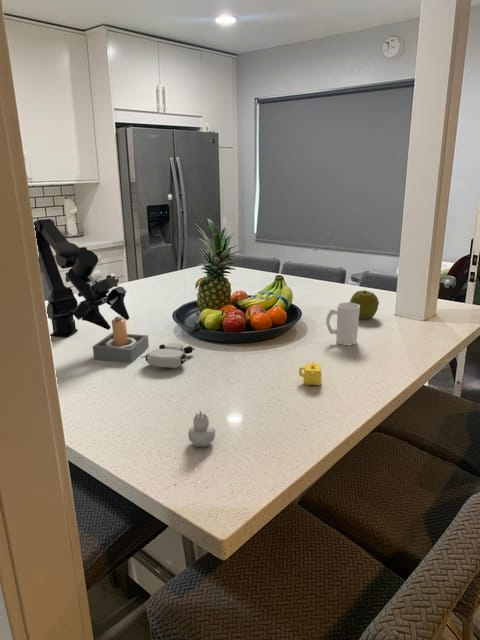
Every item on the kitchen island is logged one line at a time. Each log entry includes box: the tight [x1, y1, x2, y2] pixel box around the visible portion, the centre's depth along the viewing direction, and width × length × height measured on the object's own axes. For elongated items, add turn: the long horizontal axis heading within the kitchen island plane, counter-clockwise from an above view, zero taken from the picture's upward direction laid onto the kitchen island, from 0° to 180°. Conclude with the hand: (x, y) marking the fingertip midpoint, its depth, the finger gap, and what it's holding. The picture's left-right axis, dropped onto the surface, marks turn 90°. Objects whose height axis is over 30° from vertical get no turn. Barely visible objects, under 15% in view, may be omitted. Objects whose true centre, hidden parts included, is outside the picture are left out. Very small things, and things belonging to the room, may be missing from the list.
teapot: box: [298, 362, 322, 386], centre depth 125 cm, size 8×6×5 cm
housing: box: [92, 332, 150, 364], centre depth 145 cm, size 12×12×4 cm
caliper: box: [195, 311, 201, 324], centre depth 173 cm, size 20×1×6 cm, turn 174°
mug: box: [325, 302, 360, 346], centre depth 151 cm, size 10×7×12 cm, turn 89°
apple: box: [349, 290, 380, 320], centre depth 173 cm, size 10×10×11 cm
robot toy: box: [140, 342, 196, 369], centre depth 138 cm, size 12×4×15 cm
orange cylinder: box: [111, 316, 128, 347], centre depth 143 cm, size 4×4×10 cm
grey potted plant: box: [187, 410, 216, 448], centre depth 98 cm, size 5×7×8 cm
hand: (119, 323), depth 142 cm, fingers open, 9 cm apart
